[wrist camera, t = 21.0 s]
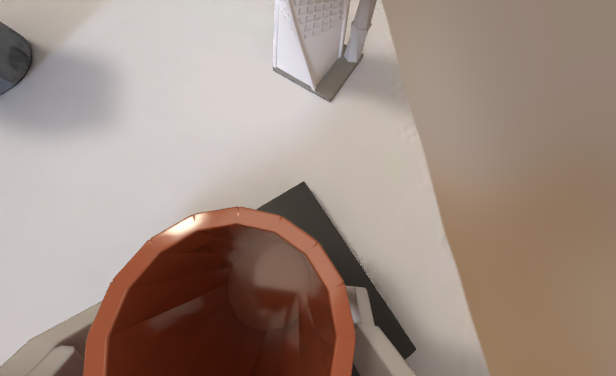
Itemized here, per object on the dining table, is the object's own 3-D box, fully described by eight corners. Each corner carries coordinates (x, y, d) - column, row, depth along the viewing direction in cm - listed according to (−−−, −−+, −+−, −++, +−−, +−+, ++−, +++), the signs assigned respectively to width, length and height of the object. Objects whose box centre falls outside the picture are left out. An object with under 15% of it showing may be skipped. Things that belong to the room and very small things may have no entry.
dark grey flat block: (205, 509, 13) (174, 597, 10) (121, 297, 16) (75, 309, 13) (403, 338, 16) (431, 361, 13) (303, 187, 19) (304, 173, 16)
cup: (252, 357, 13) (145, 617, 4) (208, 268, 15) (45, 296, 5) (334, 296, 15) (407, 379, 5) (286, 219, 16) (272, 168, 6)
